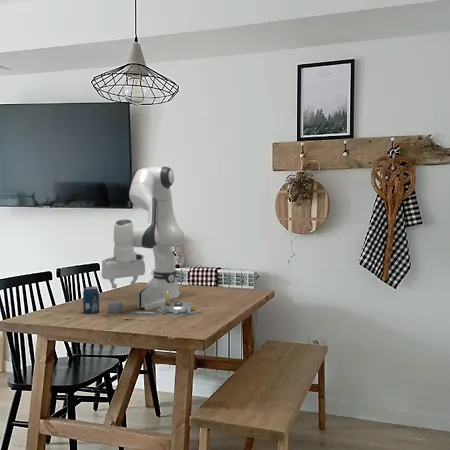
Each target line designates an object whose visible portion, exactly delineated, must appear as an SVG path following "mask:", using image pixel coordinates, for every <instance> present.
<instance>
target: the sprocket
mask: <svg viewBox="0 0 450 450" xmlns="http://www.w3.org/2000/svg"><path fill="white" fill-rule="evenodd" d="M160 309H161V310H163V312H164V313H167V312H168V313H174V314H178V313H191V311H192V310H196V309H197V304H196V305H195V304H194V302H187V301H186V302H185V301H182V300H181V301H180V300H179V301H174V302H172V301H171V299H170V291H165V305H161V306H160Z"/></svg>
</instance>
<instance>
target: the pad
mask: <svg viewBox="0 0 450 450" xmlns="http://www.w3.org/2000/svg"><path fill="white" fill-rule="evenodd" d="M158 314H159V312H156V311H137V310H133V311H131V312H130V313H129V314H128V315H129V316H128V317H138V316H146V317H148V318H154V317H155V316H157V315H158ZM151 316H152V317H151ZM146 317H145V318H146Z"/></svg>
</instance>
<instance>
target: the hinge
mask: <svg viewBox="0 0 450 450" xmlns="http://www.w3.org/2000/svg"><path fill="white" fill-rule="evenodd" d="M161 305H165V293H164V288H163V287H160V286H149V287H146V286H145V287H143V288H142V289H140V290H139V291H138V292H137V308H144V312H147V311H148V310H152V309H154V308H158V307H161Z"/></svg>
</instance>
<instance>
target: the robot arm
mask: <svg viewBox="0 0 450 450" xmlns="http://www.w3.org/2000/svg"><path fill="white" fill-rule="evenodd" d="M174 180H175V174H174V171H173V169H172V168H171V167H169V166H151V167H145V168H144V167H143V168H140V167H139V168H137V169H135V170H134V171H133V172H132V174H131V185H130V187H129V188H130V189H129V193H128V195H129V196H128V197H129V199H130V201H131V203H132V204H134V205H135V206H136V207H138V208H140V209H142V210H145V211H147V212H148V213H147V214H148V217H147V225H144V226H141V225H139V226H135V225H133V224H134V223H133V221H132V220H130V219H119V220H117V221H115V223H114V227H113V243H114V244H113V245H114V246H113V257H112V256H111V257H106V258H104V259H103V260H102V262H101V266H102V267H101V278H102V279H104V280H109V283H110V284H111V289H113V290H114V289H117V287H118V283H117V284H116V283H115V279H122V278H129V277H130V278H131V277H132V278H133V279H132V281H130V287H135V286H136V282H137V280H138V278H139V276H144V275H145V273H146V263H145V260H144V258H145V255H144V254H142V253H141V254H140V253H138V252H135V250H134V249H135V248H143V249H150V250H151V249H152V252H153V256H154V271H152V274H153V275H152V278H151V279H150V280H149V281H148V282H147V283H146V286H145V288H146V287H149V286H160V287H163V288H164V293H165V291H170V300H173V298H174V299H177V298H179V296H180V295H181V292H180V291H179V290H180V289H179V282H178V279H177V270H176V256H175V253H173V250H172V248H171V247H178V246H180V245H182V244H183V242H184V241H185V232H184V231H183V230H182V228H181V227H180V226H179V224H178V221H177V220H176V217H175V213H174V207H173V198H172V197H173V196H172V191H171V187H172V186H173V183H175V181H174Z"/></svg>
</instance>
